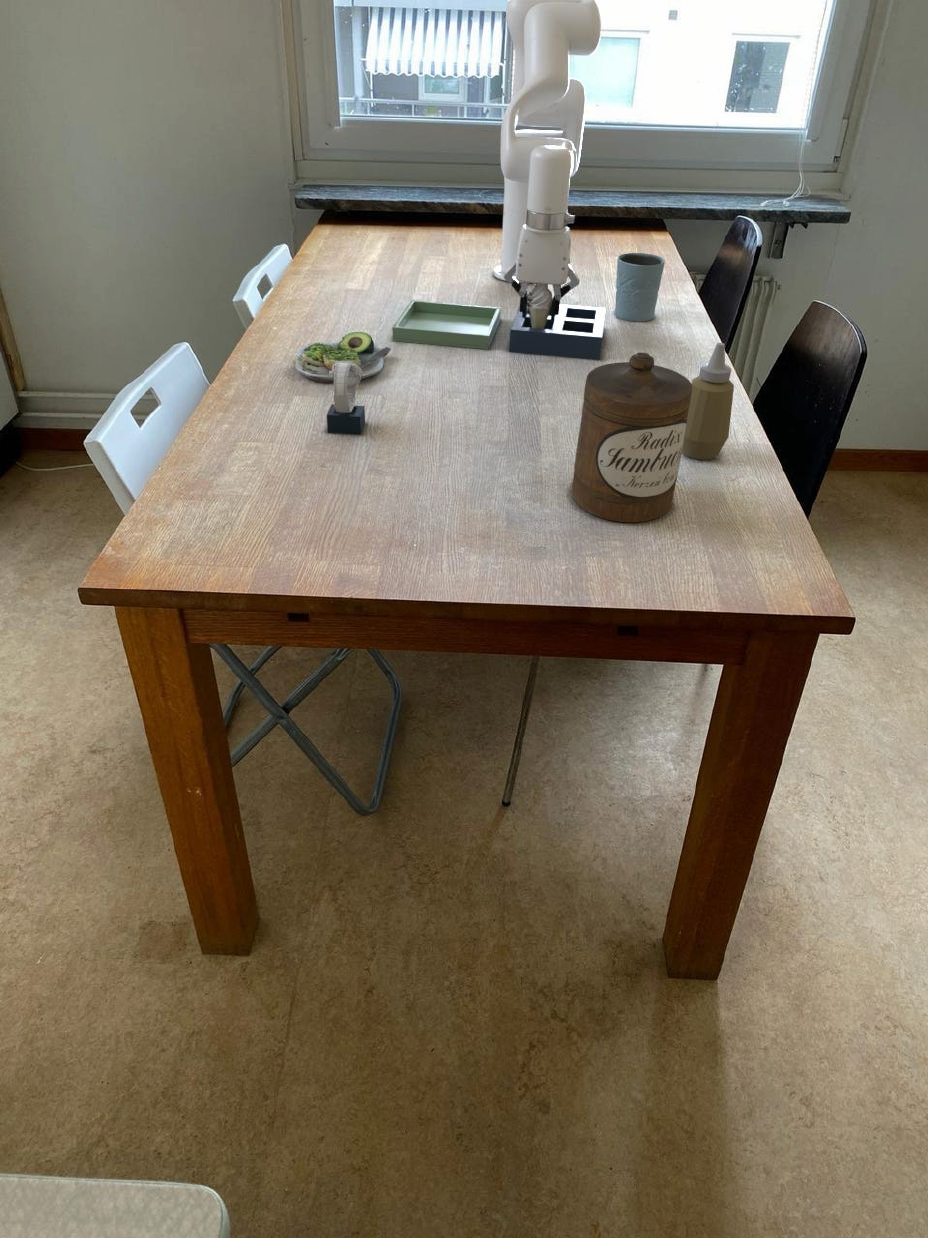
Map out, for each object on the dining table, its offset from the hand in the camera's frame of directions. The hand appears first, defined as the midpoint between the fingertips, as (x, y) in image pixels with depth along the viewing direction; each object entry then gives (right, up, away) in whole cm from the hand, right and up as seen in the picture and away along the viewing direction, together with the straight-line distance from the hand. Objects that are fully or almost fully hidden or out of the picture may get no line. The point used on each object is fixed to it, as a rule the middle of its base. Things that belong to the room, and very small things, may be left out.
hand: (538, 315), depth 182 cm
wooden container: (+8, -42, -46) cm, 63 cm away
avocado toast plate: (-38, -12, -8) cm, 41 cm away
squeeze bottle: (+23, -33, -33) cm, 53 cm away
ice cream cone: (0, -5, +4) cm, 6 cm away
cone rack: (+4, -3, +6) cm, 8 cm away
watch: (-35, -29, -30) cm, 54 cm away
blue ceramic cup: (+23, +7, +20) cm, 31 cm away
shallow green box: (-18, 0, +9) cm, 20 cm away
